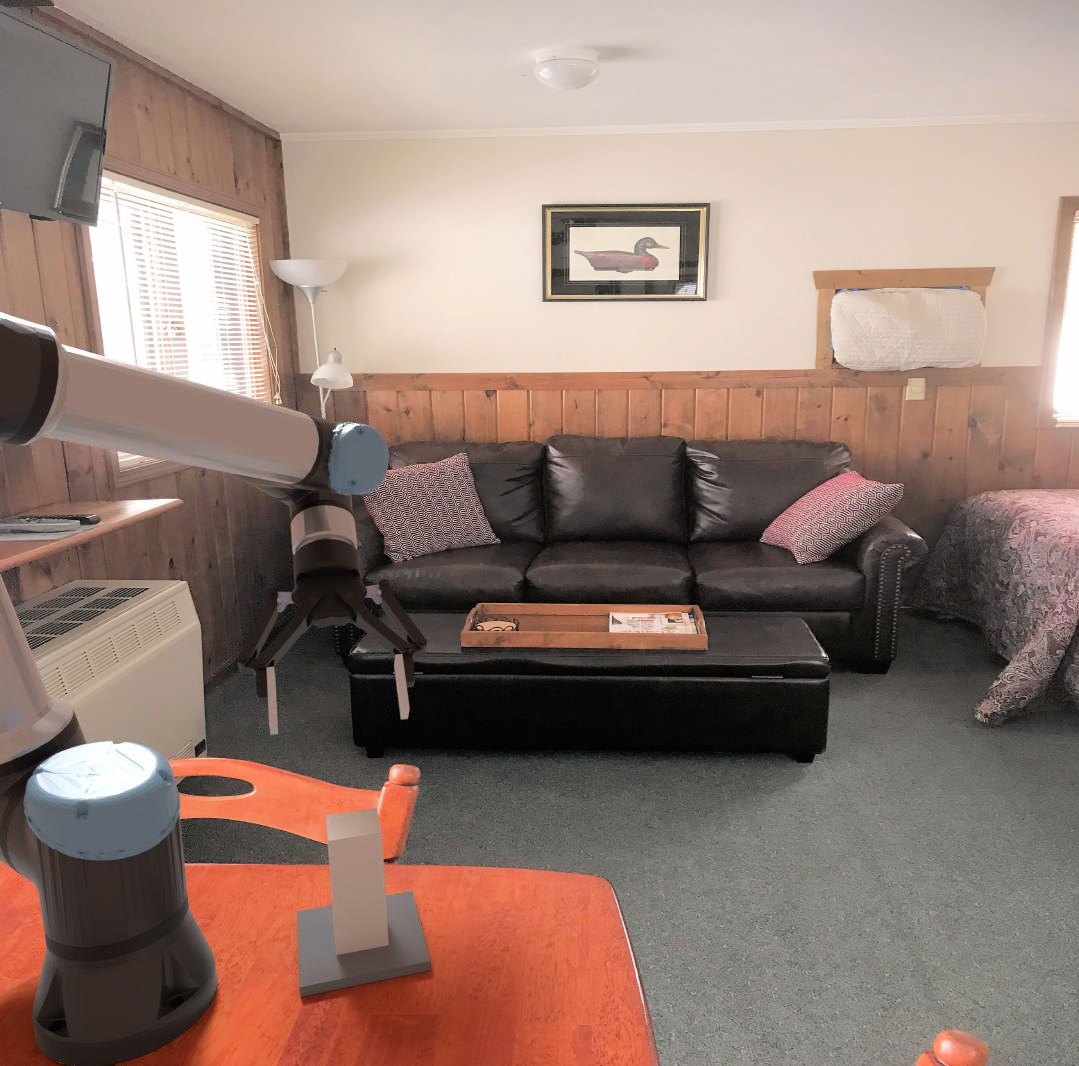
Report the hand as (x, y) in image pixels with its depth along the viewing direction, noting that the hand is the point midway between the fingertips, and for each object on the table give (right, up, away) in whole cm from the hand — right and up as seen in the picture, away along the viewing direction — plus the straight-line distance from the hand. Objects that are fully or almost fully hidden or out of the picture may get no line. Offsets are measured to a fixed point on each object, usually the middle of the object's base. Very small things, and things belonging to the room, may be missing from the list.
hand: (340, 722), depth 94 cm
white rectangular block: (+3, -20, -5) cm, 21 cm away
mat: (+3, -21, -5) cm, 22 cm away
